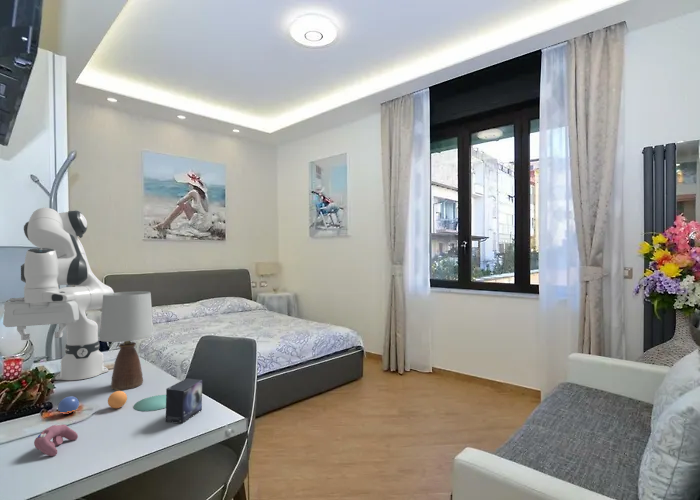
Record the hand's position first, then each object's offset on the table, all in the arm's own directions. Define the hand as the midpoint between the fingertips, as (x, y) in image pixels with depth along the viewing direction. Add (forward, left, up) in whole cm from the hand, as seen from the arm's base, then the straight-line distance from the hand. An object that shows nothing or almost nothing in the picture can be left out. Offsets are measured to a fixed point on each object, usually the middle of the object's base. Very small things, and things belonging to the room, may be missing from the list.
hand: (42, 338), depth 122 cm
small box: (+29, +38, -25) cm, 54 cm away
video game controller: (+30, +6, -25) cm, 40 cm away
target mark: (+12, +32, -25) cm, 42 cm away
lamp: (-15, +25, -25) cm, 39 cm away
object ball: (+9, +21, -22) cm, 32 cm away
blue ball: (+5, +7, -22) cm, 24 cm away
